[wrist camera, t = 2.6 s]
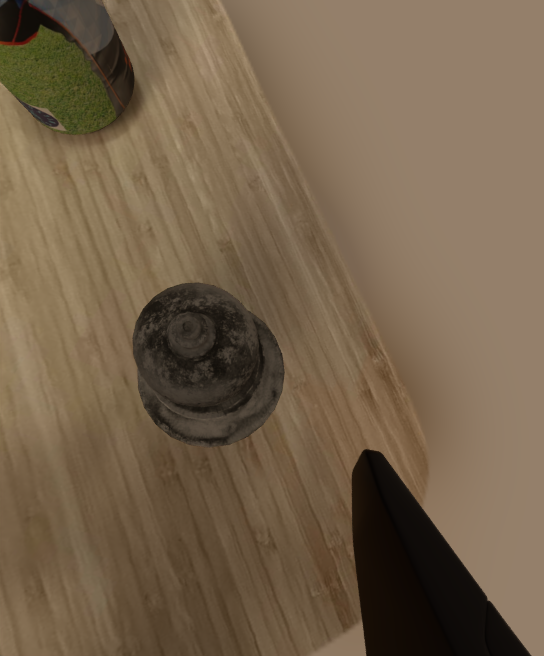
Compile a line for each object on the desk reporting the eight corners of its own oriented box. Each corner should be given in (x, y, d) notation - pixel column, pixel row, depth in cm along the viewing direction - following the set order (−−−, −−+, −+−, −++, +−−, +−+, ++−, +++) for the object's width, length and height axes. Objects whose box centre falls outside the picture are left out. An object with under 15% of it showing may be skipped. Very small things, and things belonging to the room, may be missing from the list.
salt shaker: (212, 466, 17) (170, 589, 6) (130, 376, 18) (-68, 316, 6) (298, 379, 19) (410, 332, 7) (219, 298, 19) (199, 124, 7)
